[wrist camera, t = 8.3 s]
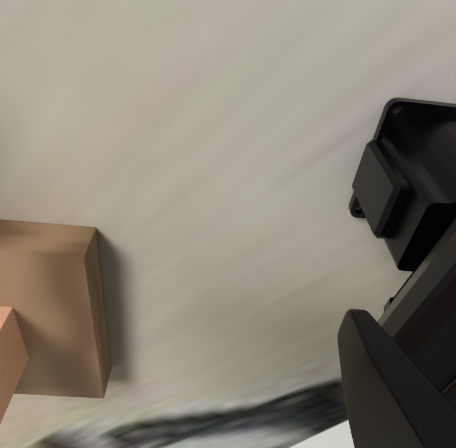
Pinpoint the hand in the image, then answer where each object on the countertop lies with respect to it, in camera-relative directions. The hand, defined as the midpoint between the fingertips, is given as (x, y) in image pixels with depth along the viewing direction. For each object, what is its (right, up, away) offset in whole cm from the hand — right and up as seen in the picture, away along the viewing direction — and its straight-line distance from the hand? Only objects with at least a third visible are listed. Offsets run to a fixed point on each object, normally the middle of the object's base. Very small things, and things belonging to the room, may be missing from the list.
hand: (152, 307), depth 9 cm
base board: (-14, -3, +18) cm, 22 cm away
